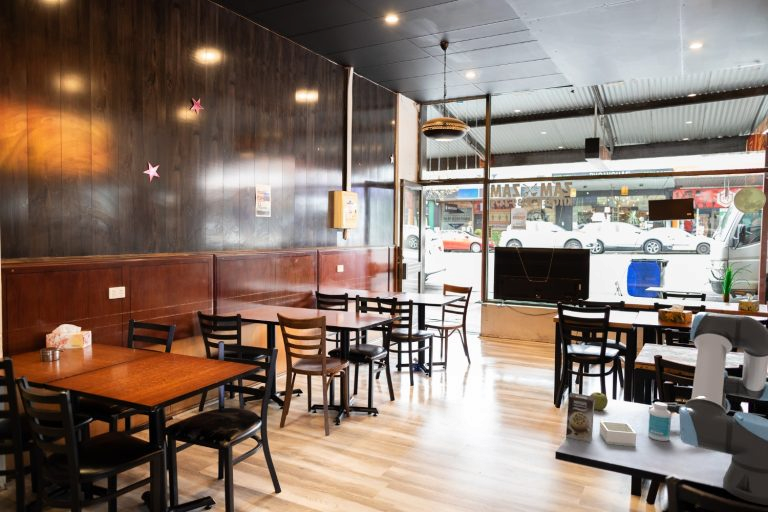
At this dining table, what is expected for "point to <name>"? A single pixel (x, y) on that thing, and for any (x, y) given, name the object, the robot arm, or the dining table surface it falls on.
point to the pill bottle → (659, 422)
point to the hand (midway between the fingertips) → (665, 415)
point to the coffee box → (580, 417)
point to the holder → (617, 433)
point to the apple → (599, 401)
